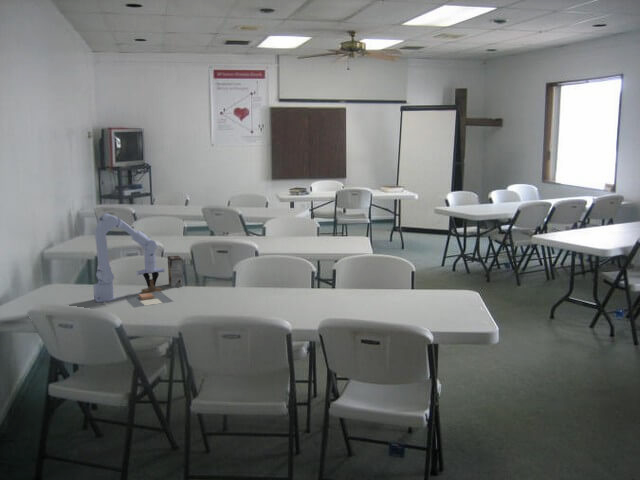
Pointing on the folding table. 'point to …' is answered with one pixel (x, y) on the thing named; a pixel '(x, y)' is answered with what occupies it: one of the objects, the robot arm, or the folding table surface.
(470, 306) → the folding table surface
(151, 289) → the brown t-shaped block
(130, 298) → the slate board
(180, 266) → the coffee box
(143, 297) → the tile
